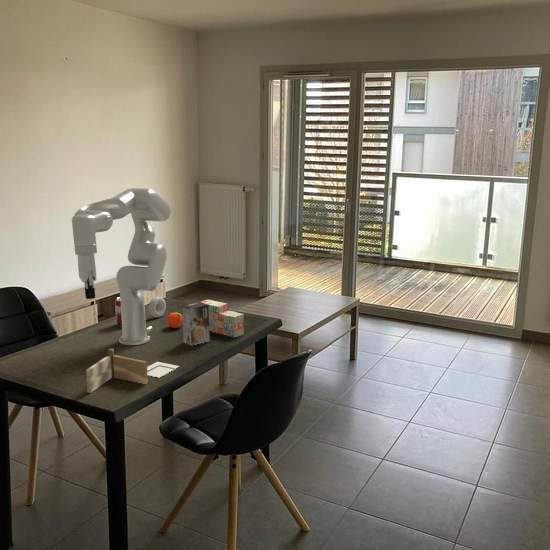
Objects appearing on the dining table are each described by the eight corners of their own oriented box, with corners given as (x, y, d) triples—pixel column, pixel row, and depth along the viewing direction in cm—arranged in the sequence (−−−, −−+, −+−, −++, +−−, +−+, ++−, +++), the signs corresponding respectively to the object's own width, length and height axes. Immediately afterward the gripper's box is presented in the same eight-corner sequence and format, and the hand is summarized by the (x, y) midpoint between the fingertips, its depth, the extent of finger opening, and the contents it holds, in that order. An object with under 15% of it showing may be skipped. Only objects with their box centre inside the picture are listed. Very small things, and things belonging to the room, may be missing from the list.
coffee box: (201, 338, 264) (200, 301, 260) (210, 342, 259) (209, 304, 255) (182, 342, 258) (181, 305, 254) (191, 346, 253) (189, 308, 250)
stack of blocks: (244, 334, 268) (243, 307, 266) (234, 338, 264) (234, 310, 261) (208, 325, 281) (207, 298, 279) (198, 328, 277) (197, 301, 274)
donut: (162, 314, 298) (161, 293, 295) (167, 315, 296) (167, 294, 294) (147, 319, 290) (146, 298, 287) (152, 320, 288) (151, 299, 286)
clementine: (187, 326, 280) (187, 310, 278) (181, 331, 273) (180, 315, 272) (170, 324, 282) (170, 309, 280) (164, 329, 275) (163, 313, 274)
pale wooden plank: (109, 376, 222) (107, 355, 220) (112, 377, 222) (110, 355, 220) (87, 392, 209) (85, 370, 207) (90, 393, 208) (89, 370, 207)
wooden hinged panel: (112, 374, 224) (110, 348, 222) (148, 383, 217) (147, 355, 215) (108, 376, 223) (106, 350, 220) (145, 385, 215) (143, 357, 213)
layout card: (157, 362, 236) (157, 361, 236) (179, 367, 232) (179, 365, 231) (136, 373, 226) (136, 372, 226) (159, 378, 221) (159, 377, 221)
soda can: (126, 321, 287) (124, 296, 284) (136, 324, 282) (135, 298, 279) (113, 325, 281) (111, 299, 278) (123, 328, 277) (121, 302, 274)
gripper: (71, 246, 229) (76, 294, 234) (78, 254, 216) (83, 305, 221) (92, 244, 232) (97, 291, 237) (100, 252, 219) (105, 302, 224)
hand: (90, 298), depth 229 cm, fingers closed
